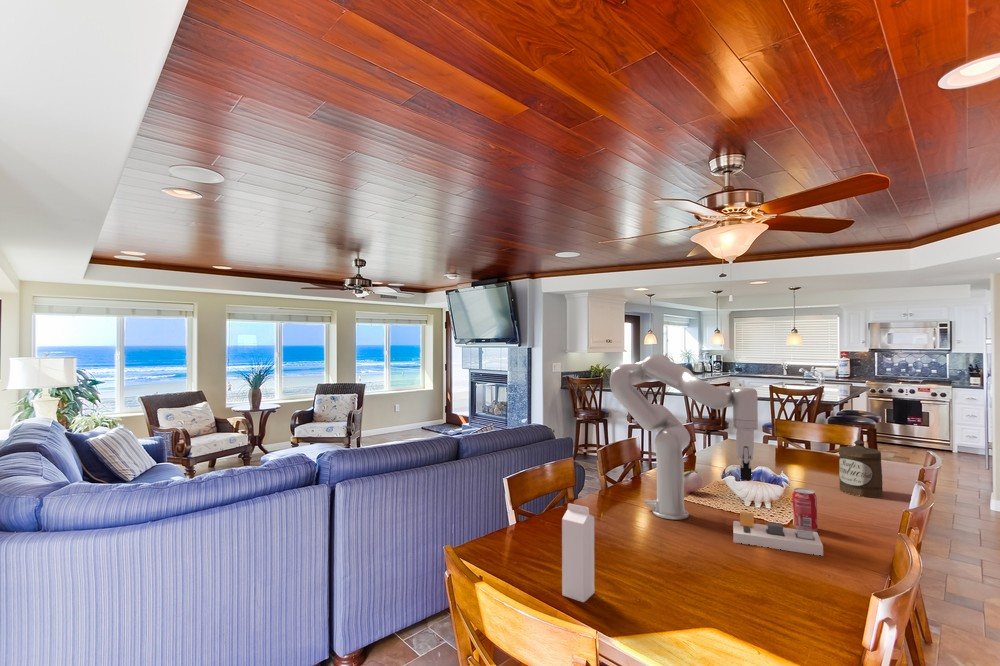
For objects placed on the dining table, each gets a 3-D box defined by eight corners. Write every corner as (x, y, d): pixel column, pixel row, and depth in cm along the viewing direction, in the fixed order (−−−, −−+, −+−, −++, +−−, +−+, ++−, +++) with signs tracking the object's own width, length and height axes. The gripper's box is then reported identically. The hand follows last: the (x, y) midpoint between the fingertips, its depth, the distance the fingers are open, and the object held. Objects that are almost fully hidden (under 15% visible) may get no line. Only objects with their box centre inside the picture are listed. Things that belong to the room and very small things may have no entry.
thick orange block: (740, 533, 163) (739, 512, 163) (740, 531, 164) (739, 511, 164) (753, 535, 161) (753, 514, 161) (753, 533, 162) (753, 513, 162)
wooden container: (831, 489, 215) (831, 438, 215) (852, 485, 221) (851, 436, 222) (869, 499, 201) (868, 445, 202) (890, 495, 208) (889, 442, 208)
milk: (573, 586, 128) (573, 499, 129) (595, 593, 124) (594, 504, 125) (561, 595, 123) (561, 505, 124) (583, 603, 119) (583, 510, 120)
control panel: (733, 542, 157) (733, 532, 157) (733, 529, 168) (733, 520, 168) (823, 556, 147) (823, 545, 147) (817, 541, 158) (816, 532, 158)
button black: (768, 536, 156) (768, 525, 156) (767, 532, 160) (767, 521, 160) (783, 538, 155) (782, 527, 155) (781, 534, 158) (781, 523, 158)
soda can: (821, 533, 164) (820, 494, 164) (797, 532, 166) (796, 492, 166) (812, 526, 171) (811, 488, 171) (789, 524, 172) (789, 487, 173)
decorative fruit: (695, 497, 204) (695, 472, 204) (676, 492, 210) (676, 469, 210) (706, 492, 210) (706, 469, 210) (687, 488, 216) (687, 465, 216)
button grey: (797, 541, 153) (797, 529, 153) (796, 536, 156) (796, 525, 157) (813, 543, 151) (813, 531, 151) (811, 538, 155) (811, 527, 155)
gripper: (733, 420, 178) (733, 472, 177) (733, 427, 163) (733, 483, 163) (756, 421, 174) (757, 474, 174) (758, 428, 160) (759, 486, 159)
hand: (745, 478), depth 168 cm, fingers open, 2 cm apart
